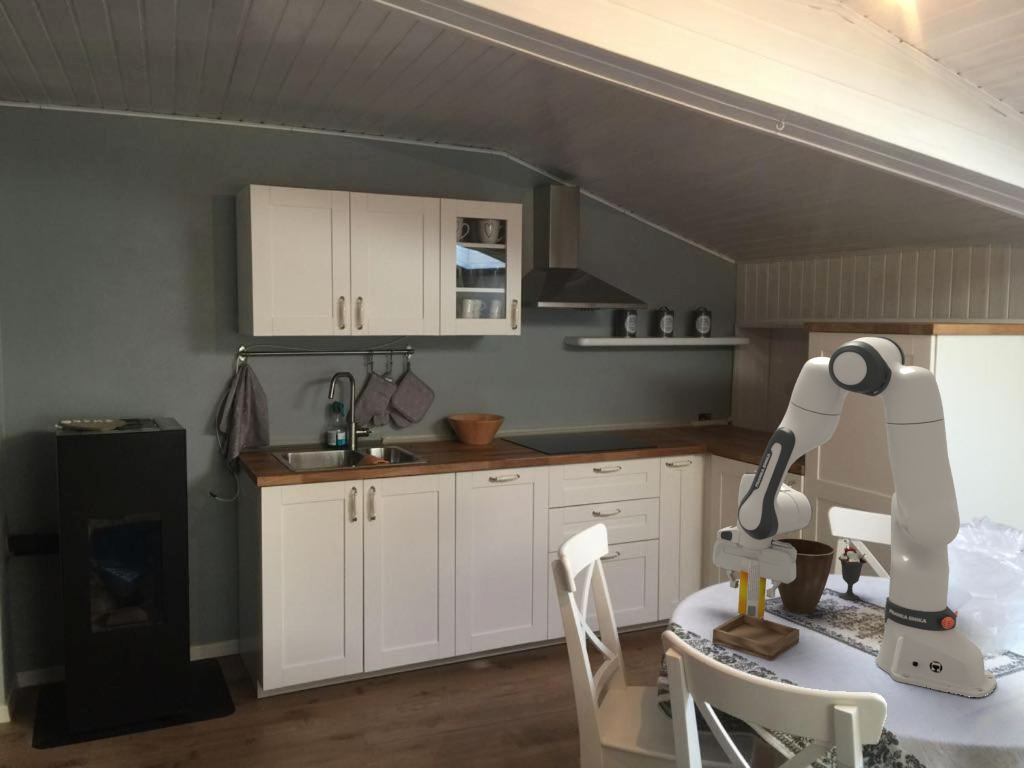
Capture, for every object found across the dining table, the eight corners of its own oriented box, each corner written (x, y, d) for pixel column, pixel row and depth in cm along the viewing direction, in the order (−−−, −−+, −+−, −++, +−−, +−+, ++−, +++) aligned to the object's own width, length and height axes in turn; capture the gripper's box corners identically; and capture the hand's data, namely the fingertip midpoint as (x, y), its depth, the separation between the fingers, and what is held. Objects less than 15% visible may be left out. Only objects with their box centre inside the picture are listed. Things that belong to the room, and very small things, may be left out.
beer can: (761, 613, 212) (764, 553, 211) (766, 622, 206) (769, 560, 205) (736, 611, 213) (739, 552, 211) (740, 620, 207) (743, 559, 205)
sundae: (830, 593, 228) (833, 538, 226) (851, 591, 230) (855, 536, 228) (846, 602, 221) (850, 545, 220) (868, 600, 223) (872, 543, 222)
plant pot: (754, 604, 218) (758, 542, 216) (793, 594, 226) (797, 534, 225) (804, 623, 206) (808, 558, 204) (843, 612, 214) (847, 549, 212)
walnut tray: (798, 642, 194) (799, 629, 194) (771, 660, 184) (772, 647, 184) (741, 625, 203) (742, 613, 203) (712, 642, 193) (713, 629, 193)
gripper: (802, 542, 203) (799, 599, 204) (723, 525, 216) (720, 579, 218) (791, 547, 198) (787, 606, 200) (711, 530, 212) (708, 585, 213)
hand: (752, 592), depth 209 cm, fingers open, 8 cm apart
